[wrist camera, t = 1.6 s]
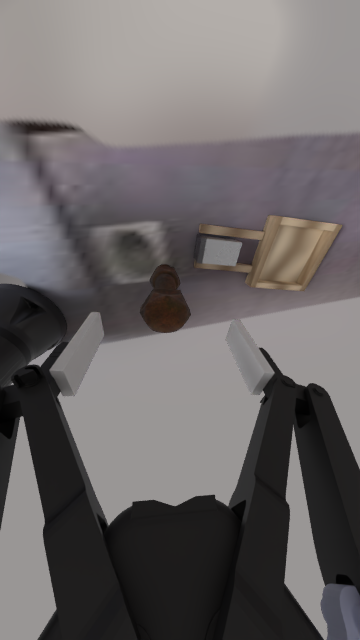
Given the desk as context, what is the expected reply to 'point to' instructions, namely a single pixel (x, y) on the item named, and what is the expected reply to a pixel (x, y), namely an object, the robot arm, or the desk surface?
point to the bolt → (165, 302)
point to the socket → (280, 251)
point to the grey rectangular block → (217, 250)
